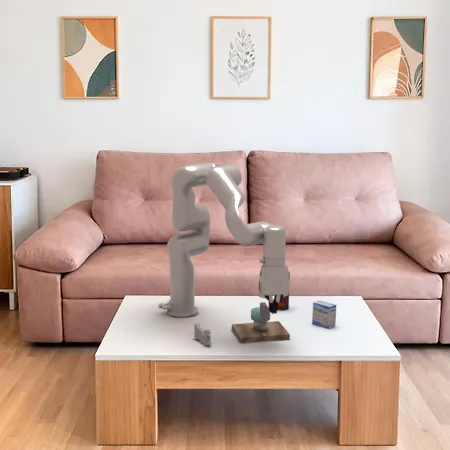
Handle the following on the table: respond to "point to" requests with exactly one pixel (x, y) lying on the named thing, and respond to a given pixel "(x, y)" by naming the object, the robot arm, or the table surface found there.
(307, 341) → the table surface
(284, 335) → the base
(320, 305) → the medicine box
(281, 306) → the deodorant
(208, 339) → the grey flat irregular piece
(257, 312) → the lock handle
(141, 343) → the table surface
